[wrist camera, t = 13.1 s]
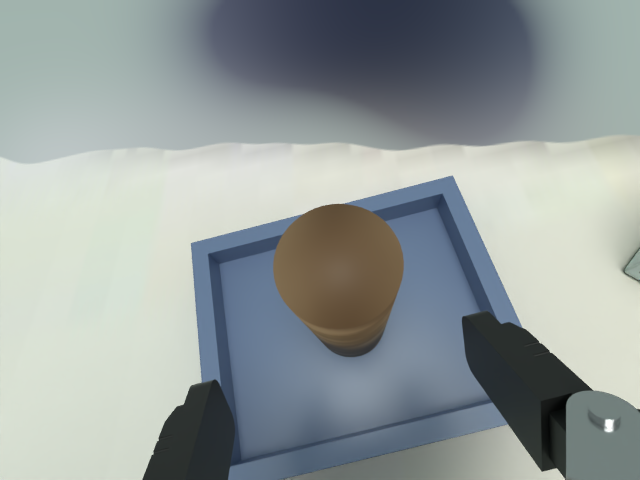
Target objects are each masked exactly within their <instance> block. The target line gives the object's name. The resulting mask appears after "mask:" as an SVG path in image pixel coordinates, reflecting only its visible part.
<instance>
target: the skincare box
mask: <svg viewBox="0 0 640 480" xmlns="http://www.w3.org/2000/svg"><path fill="white" fill-rule="evenodd" d="M624 271H625V273H627V274H628V275H630V276H632V277H634V278H636V279H637V280H640V249H639V250H638V252H637V253H636V254H635V256H634V257H633V259H632V260H631V261H630V263H629V264H628V266H627V267H626V268H625V270H624Z"/></svg>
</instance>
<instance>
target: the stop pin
mask: <svg viewBox="0 0 640 480" xmlns="http://www.w3.org/2000/svg"><path fill="white" fill-rule="evenodd" d="M403 271H404V259H403V252H402V249H401V245H400V243H399V241H398V238H397V237H396V235H395V233H394V232H393V230H392V229H391V228H390V226H389V225H388V224H387V223H386V222H385V221H384V220H383V219H381V218H380V217H379V216H377V215H376V214H374V213H372V212H371V211H369V210H366V209H364V208H362V207H358V206H354V205H348V204H331V205H326V206H321V207H318V208H315V209H313V210H311V211H308V212H307V213H305V214H303V215H302V216H300V217H299V218H298V219H296V220H295V221H294V222H293V223H292V224H291V225H290V226H289V227H288V228H287V230H286V231H285V232H284V234H283V235H282V237H281V239H280V240H279V243H278V245H277V248H276V251H275V254H274V261H273V273H274V280H275V284H276V287H277V289H278V292H279V294H280V296H281V298H282V299H283V301H284V302H285V303H286V305H287V306H288V307H289V308H290V309H291V310H292V311H293V313H294V314H295V315H296V316H297V317H298V318H299V319H300V320H301V321H302V322H303V323H304V324H305V325H306V326H307V327H308V328H309V329H310V330H311V331H312V332H313V333H314V335H315V336H316V337H317V338H318V339H319V340H320V341H321V342H322V343H323V344H324V345H325V346H326V347H327V348H328V349H329V350H331V351H332V352H334V353H335V354H338V355H340V356H344V357H358V356H362V355H364V354H366V353H368V352H370V351H371V350H372V349H374V348H375V347H376V345H377V344H378V343H379V341H380V340H381V338H382V336H383V333H384V330H385V327H386V324H387V321H388V319H389V316H390V313H391V310H392V307H393V305H394V302H395V299H396V296H397V293H398V291H399V288H400V285H401V281H402V278H403Z"/></svg>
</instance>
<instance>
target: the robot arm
mask: <svg viewBox="0 0 640 480" xmlns="http://www.w3.org/2000/svg"><path fill="white" fill-rule="evenodd" d="M462 329H463V338H464V347H465V355H466V360H467V363H468V366H469V368H470V370H471V372H472V374H473V375H474V377H475V378H476V380H477V381H478V382H479V384H480V385H481V387H482V388H483V389H484V391H485V392H486V394H487V395H488V397H489V398H490V399H491V401H492V402H493V404H494V405H495V406H496V408H497V409H498V411H499V412H500V413H501V415H502V416H503V418H504V419H505V420H506V422H507V423H508V425H509V426H510V427H511V429H512V430H513V432H514V433H515V434H516V436H517V437H518V439H519V440H520V442H521V443H522V444H523V446H524V447H525V449H526V450H527V451H528V453H529V454H530V456H531V457H532V458H533V460H534V461H535V463H536V464H537V465H538V467H539V468H540V470H541V471H542V472H543V471H546V470H550V469H554V468H557V469H558V470H559V471H560V473H561V474H562V475H563V477H564V478H565V480H640V409H636V408H635V407H633V406H632V405H631V404H629V403H628V402H627V401H625V400H623V399H621V398H619V397H617V396H615V395H612V394H609V393H605V392H600V391H593V390H592V389H591V388H590V387H589V386H588V385H587V384H586V383H584V382H583V381H582V380H581V379H580V378H579V377H578V376H577V375H576V374H575V373H573V372H572V371H571V370H570V369H569V368H568V367H567V366H566V365H565V364H564V363H562V362H561V361H560V360H559V359H558V358H557V357H556V356H555V355H554V354H552V353H550V352H549V350H548V349H547V348H546V347H545V346H544V345H543V344H540V343H539V341H538V340H537V339H536V338H535V337H534V336H533V335H532V334H530V333H529V332H528V331H527V330H526V329H524V328H521V327H519V326H517V325H515V324H513V323H511V322H507V323H503V324H501V323H500V322H499V321H498V320H497V319H496V318H495V317H494V316H493V315H492V314H491V313H490V312H488V311H482V312H478V313H474V314H470V315H466V316H463V317H462ZM234 438H235V423H234V418H233V414H232V412H231V410H230V407H229V405H228V403H227V400H226V398H225V396H224V393H223V391H222V389H221V386H220V384H219V382H218V381H217V380H215V379H214V380H210V381H207V382H203V383H199V384H195V385H192V386H191V387H190V389H189V391H188V394H187V397H186V400H185V403H184V405H181V406H177V407H176V408H175V410H174V411H173V412H172V413H171V415H170V416H169V417H168V419H167V420H166V421H165V423H164V426H163V428H162V431H161V433H160V436H159V441H157V444H156V446H155V449H154V451H153V452H154V455H152V456H151V459H150V461H149V464H148V467H147V469H146V472H145V474H144V477H143V479H142V480H228V477H229V470H230V464H231V458H232V451H233V445H234Z"/></svg>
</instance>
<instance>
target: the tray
mask: <svg viewBox="0 0 640 480" xmlns="http://www.w3.org/2000/svg"><path fill="white" fill-rule="evenodd" d="M345 204H348V205H354V206H358V207H362V208H364V209H366V210H369V211H371V212H372V213H374V214H376V215H377V216H379V217H380V218H381V219H383V220H384V221H385V222H386V223H387V224H388V225H389V226H390V228H391V229H392V230H393V232H394V233H395V235H396V237H397V238H398V241H399V243H400V245H401V249H402V252H403V259H404V271H403V278H402V281H401V285H400V288H399V291H398V293H397V296H396V299H395V302H394V305H393V307H392V310H391V313H390V316H389V319H388V321H387V324H386V327H385V330H384V333H383V336H382V338H381V340H380V341H379V343H378V344H377V345H376V347H375V348H374V349H372V350H371V351H370V352H368V353H366V354H364V355H362V356H358V357H344V356H340V355H338V354H335V353H334V352H332V351H331V350H329V349H328V348H327V347H326V346H325V345H324V344H323V343H322V342H321V341H320V340H319V339H318V338H317V337H316V336H315V335H314V333H313V332H312V331H311V330H310V329H309V328H308V327H307V326H306V325H305V324H304V323H303V322H302V321H301V320H300V319H299V318H298V317H297V316H296V315H295V314H294V313H293V311H292V310H291V309H290V308H289V307H288V306H287V305H286V303H285V302H284V301H283V299H282V298H281V296H280V294H279V292H278V289H277V287H276V284H275V280H274V273H273V261H274V254H275V251H276V248H277V245H278V243H279V240H280V239H281V237H282V235H283V234H284V232H285V231H286V230H287V228H288V227H289V226H290V225H291V224H292V223H293V222H294V221H295V220H296V219H298V218H299V217H300V216H302V215H303V214H302V215H298V216H294V217H291V218H287V219H283V220H279V221H275V222H271V223H267V224H263V225H260V226H256V227H252V228H248V229H244V230H240V231H236V232H233V233H229V234H225V235H221V236H217V237H213V238H209V239H205V240H202V241H198V242H194V243H191V250H192V263H193V276H194V288H195V301H196V314H197V326H198V339H199V352H200V365H201V377H202V383H203V382H207V381H210V380H214V379H215V380H217V381H218V382H219V384H220V386H221V389H222V391H223V393H224V396H225V398H226V400H227V403H228V405H229V407H230V410H231V412H232V414H233V418H234V423H235V438H234V445H233V451H232V458H231V464H230V470H229V477H228V480H281V479H285V478H289V477H294V476H298V475H302V474H306V473H310V472H314V471H318V470H322V469H326V468H331V467H335V466H339V465H343V464H347V463H351V462H355V461H359V460H363V459H368V458H372V457H376V456H380V455H384V454H388V453H392V452H396V451H400V450H405V449H409V448H413V447H417V446H421V445H425V444H429V443H433V442H437V441H442V440H446V439H450V438H454V437H458V436H462V435H466V434H470V433H474V432H479V431H483V430H487V429H491V428H495V427H499V426H503V425H507V424H508V423H507V422H506V420H505V419H504V418H503V416H502V415H501V413H500V412H499V411H498V409H497V408H496V406H495V405H494V404H493V402H492V401H491V399H490V398H489V397H488V395H487V394H486V392H485V391H484V389H483V388H482V387H481V385H480V384H479V382H478V381H477V380H476V378H475V377H474V375H473V374H472V372H471V370H470V368H469V366H468V363H467V360H466V355H465V347H464V338H463V329H462V317H463V316H466V315H470V314H474V313H478V312H482V311H488V312H490V313H491V314H492V315H493V316H494V317H495V318H496V319H497V320H498V321H499V322H500V323H501V324H503V323H507V322H511V323H513V324H515V325H517V326H519V327H521V328H522V326H521V324H520V322H519V319H518V317H517V315H516V313H515V311H514V308H513V306H512V304H511V302H510V300H509V298H508V295H507V293H506V291H505V289H504V287H503V284H502V282H501V280H500V278H499V276H498V273H497V271H496V269H495V267H494V265H493V263H492V260H491V258H490V256H489V254H488V252H487V249H486V247H485V245H484V243H483V241H482V239H481V236H480V234H479V232H478V230H477V228H476V225H475V223H474V221H473V219H472V217H471V215H470V212H469V210H468V208H467V206H466V204H465V201H464V199H463V197H462V195H461V193H460V191H459V188H458V186H457V184H456V182H455V180H454V177H453V176H449V177H445V178H442V179H438V180H434V181H430V182H426V183H422V184H418V185H414V186H411V187H407V188H403V189H399V190H395V191H391V192H387V193H384V194H380V195H376V196H372V197H368V198H364V199H360V200H356V201H353V202H349V203H345Z"/></svg>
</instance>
